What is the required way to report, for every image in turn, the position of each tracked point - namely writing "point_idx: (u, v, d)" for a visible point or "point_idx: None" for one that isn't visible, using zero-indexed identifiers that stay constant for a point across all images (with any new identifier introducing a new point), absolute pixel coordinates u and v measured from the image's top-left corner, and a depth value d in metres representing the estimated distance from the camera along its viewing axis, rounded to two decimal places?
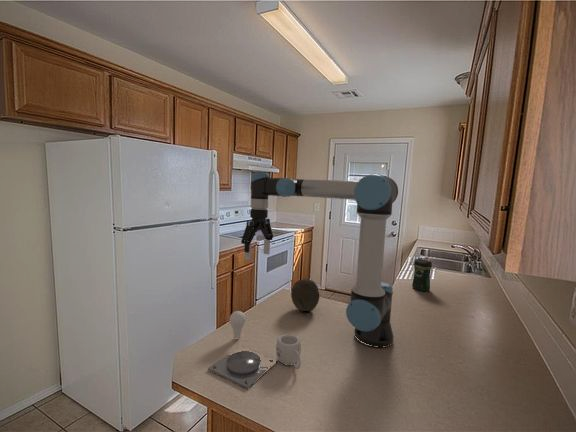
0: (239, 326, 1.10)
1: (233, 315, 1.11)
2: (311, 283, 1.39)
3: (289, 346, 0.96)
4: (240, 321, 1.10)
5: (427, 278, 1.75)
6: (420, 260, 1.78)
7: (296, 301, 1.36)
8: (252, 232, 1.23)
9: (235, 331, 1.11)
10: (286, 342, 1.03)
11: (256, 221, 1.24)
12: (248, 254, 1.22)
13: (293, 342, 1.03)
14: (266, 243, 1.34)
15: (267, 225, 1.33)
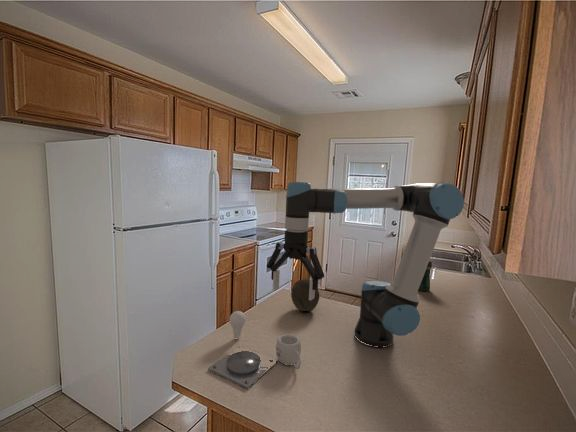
0: (239, 326, 1.10)
1: (233, 315, 1.11)
2: None
3: (289, 346, 0.96)
4: (240, 321, 1.10)
5: (427, 278, 1.75)
6: None
7: (296, 301, 1.36)
8: None
9: (235, 331, 1.11)
10: (286, 342, 1.03)
11: (285, 245, 0.95)
12: None
13: (293, 342, 1.03)
14: None
15: None
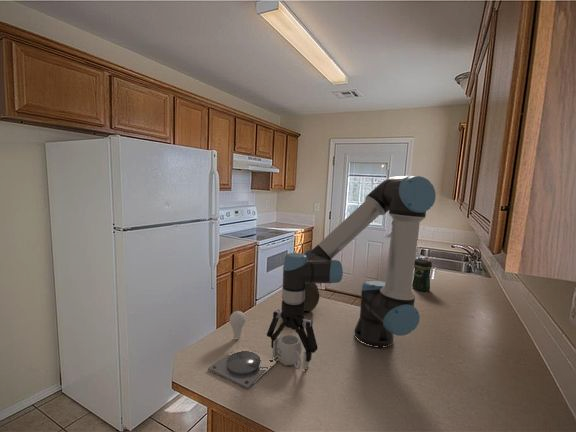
0: (239, 326, 1.10)
1: (233, 315, 1.11)
2: (311, 283, 1.39)
3: (289, 346, 0.96)
4: (240, 321, 1.10)
5: (427, 278, 1.75)
6: (420, 260, 1.78)
7: None
8: None
9: (235, 331, 1.11)
10: (287, 342, 1.03)
11: (282, 314, 0.98)
12: None
13: (294, 342, 1.02)
14: None
15: None
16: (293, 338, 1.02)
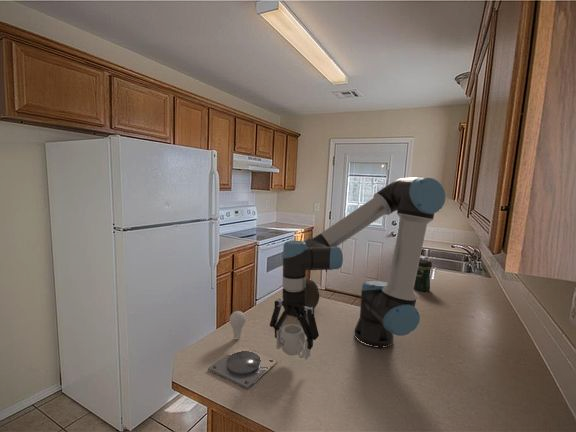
0: (239, 326, 1.10)
1: (233, 315, 1.11)
2: (311, 283, 1.39)
3: (293, 335, 0.95)
4: (240, 321, 1.10)
5: (427, 278, 1.75)
6: (420, 260, 1.78)
7: None
8: None
9: (235, 331, 1.11)
10: (290, 332, 1.02)
11: (283, 302, 0.98)
12: None
13: (297, 332, 1.02)
14: None
15: None
16: (296, 328, 1.02)
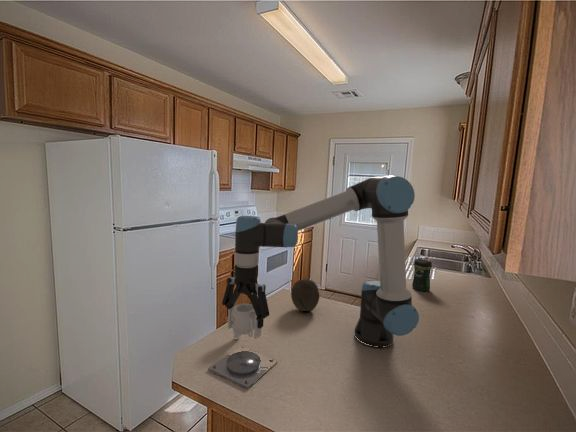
0: None
1: None
2: (311, 283, 1.39)
3: (243, 313, 0.92)
4: None
5: (427, 278, 1.75)
6: (420, 260, 1.78)
7: (295, 301, 1.36)
8: None
9: None
10: (243, 311, 0.99)
11: (236, 279, 0.94)
12: None
13: None
14: None
15: None
16: (250, 307, 0.98)
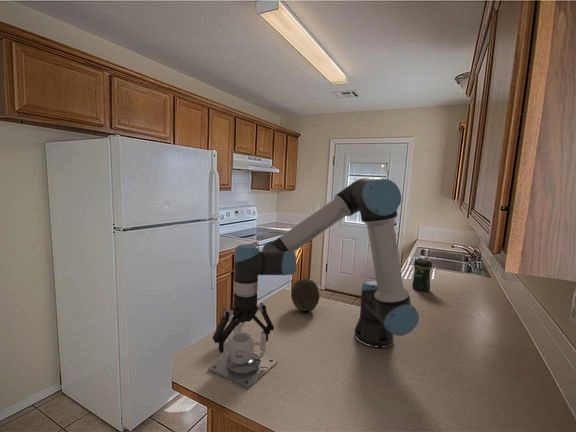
0: (239, 326, 1.10)
1: (233, 315, 1.11)
2: (311, 283, 1.39)
3: (250, 341, 0.94)
4: None
5: (427, 278, 1.75)
6: (420, 260, 1.78)
7: (296, 301, 1.36)
8: (230, 325, 0.92)
9: (235, 331, 1.11)
10: None
11: (237, 311, 0.92)
12: (223, 354, 0.92)
13: (238, 339, 0.99)
14: (262, 337, 0.99)
15: (262, 313, 0.97)
16: (238, 335, 0.98)
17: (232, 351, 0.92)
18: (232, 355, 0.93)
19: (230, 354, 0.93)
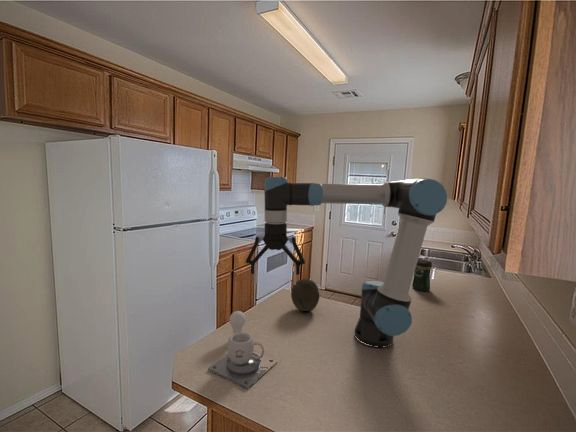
0: (239, 326, 1.10)
1: (233, 315, 1.11)
2: (311, 283, 1.39)
3: (250, 341, 0.94)
4: (240, 320, 1.10)
5: (427, 278, 1.75)
6: (420, 260, 1.78)
7: (295, 301, 1.36)
8: (261, 251, 1.00)
9: (235, 331, 1.11)
10: None
11: (266, 238, 0.99)
12: None
13: (238, 339, 0.99)
14: None
15: (293, 245, 1.00)
16: (238, 335, 0.98)
17: (232, 351, 0.92)
18: (232, 355, 0.93)
19: (230, 354, 0.93)
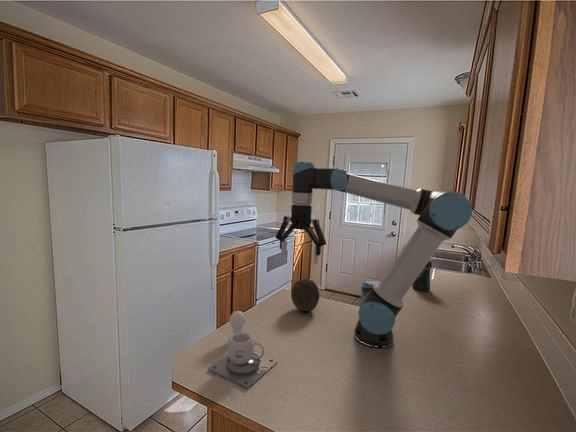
0: (239, 326, 1.10)
1: (233, 315, 1.11)
2: (311, 283, 1.39)
3: (250, 341, 0.94)
4: (240, 321, 1.10)
5: (427, 278, 1.75)
6: None
7: (295, 301, 1.36)
8: None
9: (235, 331, 1.11)
10: None
11: (292, 217, 1.10)
12: None
13: (238, 339, 0.99)
14: None
15: None
16: (238, 335, 0.98)
17: (232, 351, 0.92)
18: (232, 355, 0.93)
19: (230, 354, 0.93)
